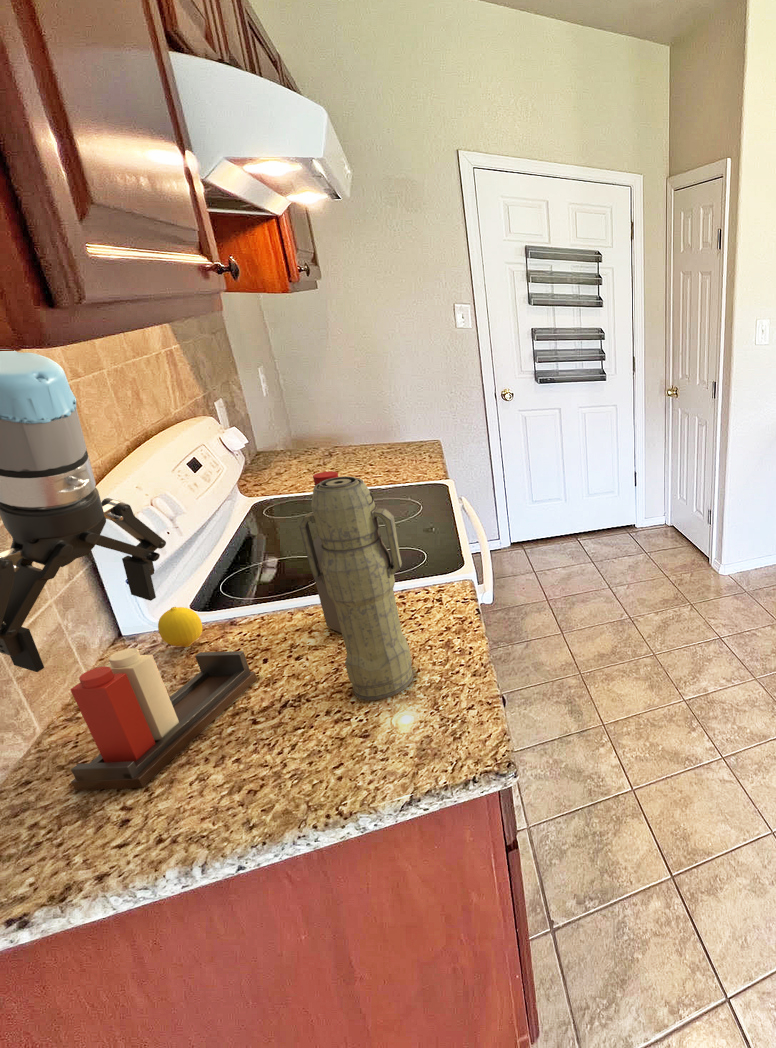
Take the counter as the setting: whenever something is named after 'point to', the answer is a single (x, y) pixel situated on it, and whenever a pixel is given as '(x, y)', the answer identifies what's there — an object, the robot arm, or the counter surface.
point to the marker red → (113, 715)
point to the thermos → (360, 584)
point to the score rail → (194, 710)
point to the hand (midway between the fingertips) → (91, 628)
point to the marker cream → (146, 689)
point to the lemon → (180, 626)
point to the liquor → (325, 600)
